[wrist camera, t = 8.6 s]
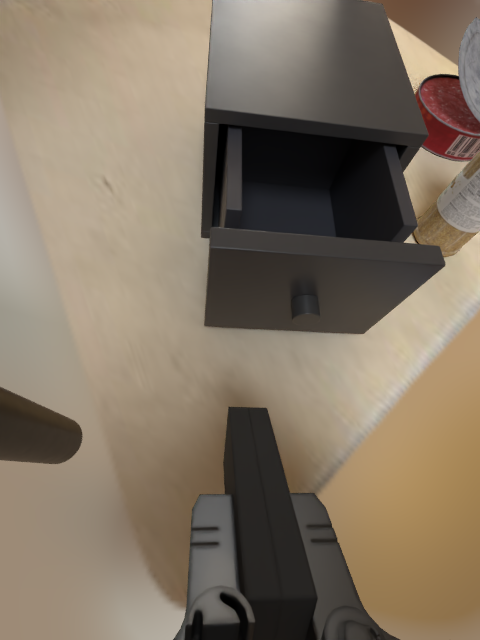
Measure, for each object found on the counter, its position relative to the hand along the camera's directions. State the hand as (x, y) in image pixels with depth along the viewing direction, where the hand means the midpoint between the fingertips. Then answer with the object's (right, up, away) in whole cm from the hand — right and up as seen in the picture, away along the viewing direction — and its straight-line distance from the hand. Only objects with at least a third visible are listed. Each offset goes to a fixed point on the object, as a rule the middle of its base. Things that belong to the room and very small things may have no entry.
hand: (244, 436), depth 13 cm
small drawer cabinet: (+3, +18, +17) cm, 25 cm away
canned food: (+23, +26, +24) cm, 42 cm away
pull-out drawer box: (+3, +9, +13) cm, 16 cm away
